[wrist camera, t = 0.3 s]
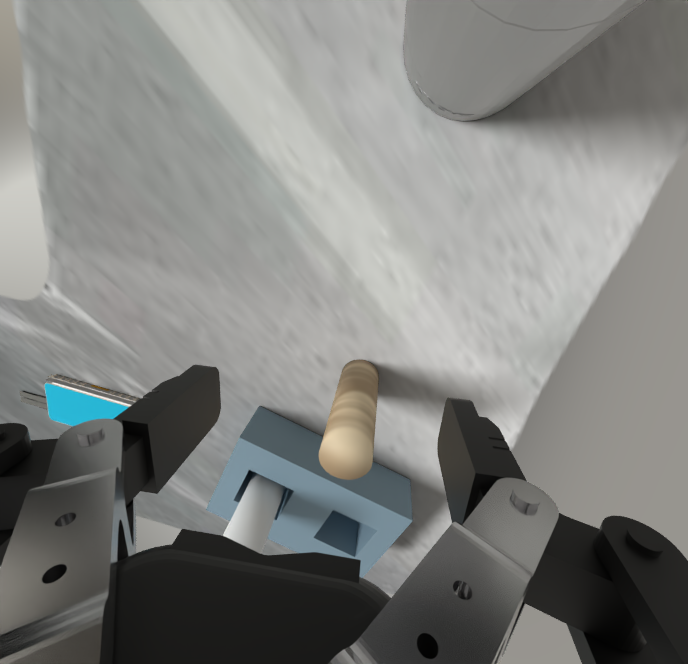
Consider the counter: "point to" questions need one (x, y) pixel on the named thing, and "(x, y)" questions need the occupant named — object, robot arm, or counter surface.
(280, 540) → the bore block
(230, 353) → the counter surface
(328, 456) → the beech pin
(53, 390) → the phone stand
